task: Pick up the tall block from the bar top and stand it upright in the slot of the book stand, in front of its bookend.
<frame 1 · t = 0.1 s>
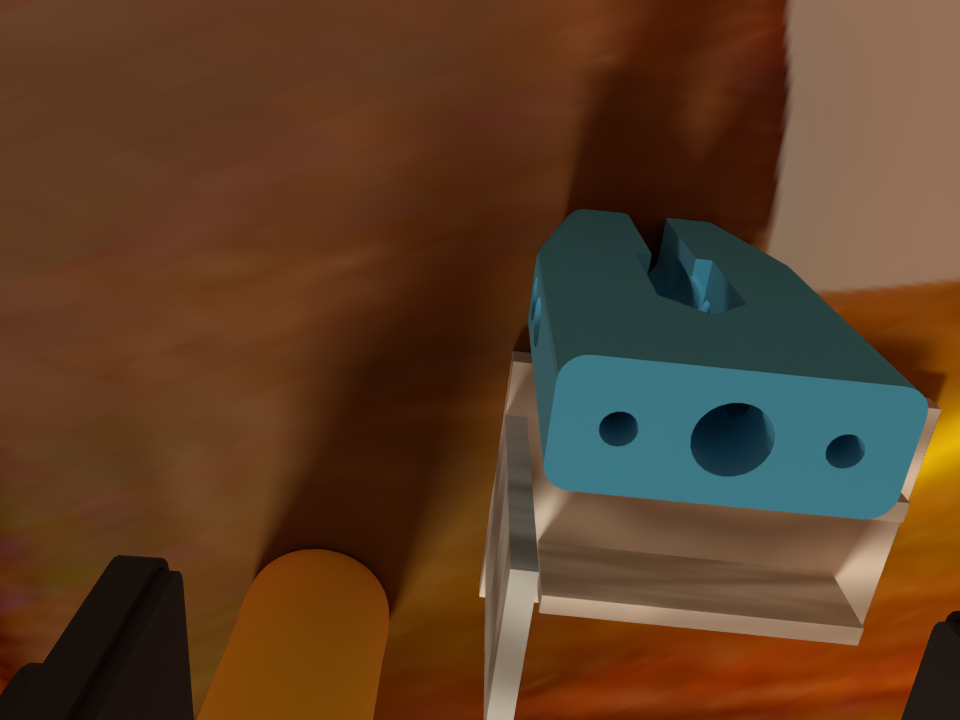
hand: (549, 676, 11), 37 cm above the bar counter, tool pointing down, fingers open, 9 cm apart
book stand: (692, 494, 52), on the bar counter
beer bottle: (321, 600, 56), on the bar counter
block: (637, 259, 47), on the bar counter
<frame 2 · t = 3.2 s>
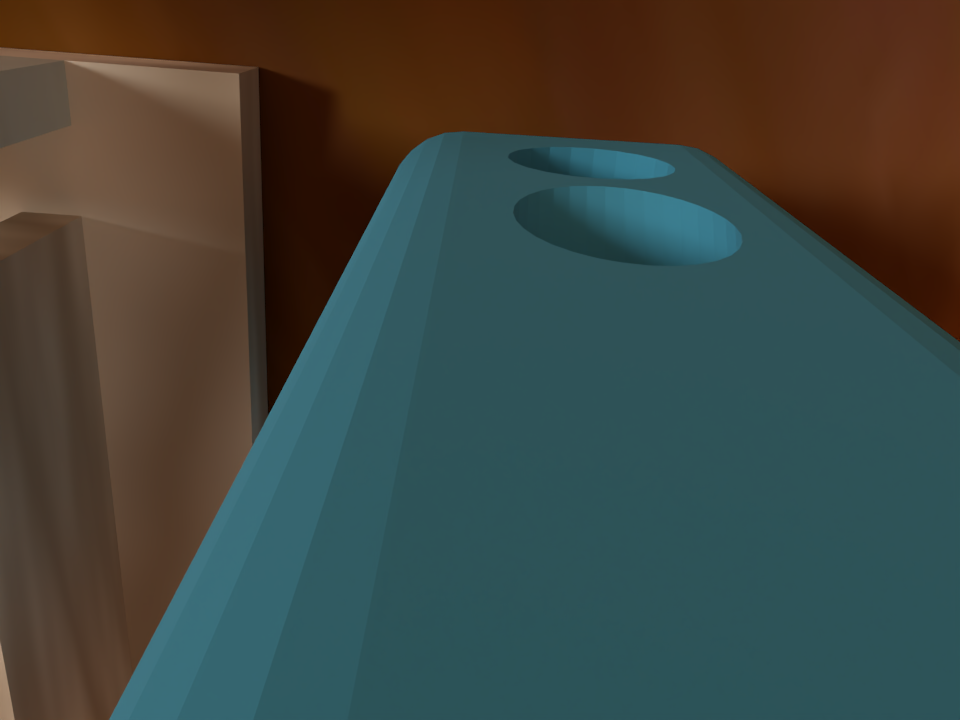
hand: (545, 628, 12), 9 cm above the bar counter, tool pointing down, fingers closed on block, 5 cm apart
block: (522, 351, 21), on the bar counter, touching gripper
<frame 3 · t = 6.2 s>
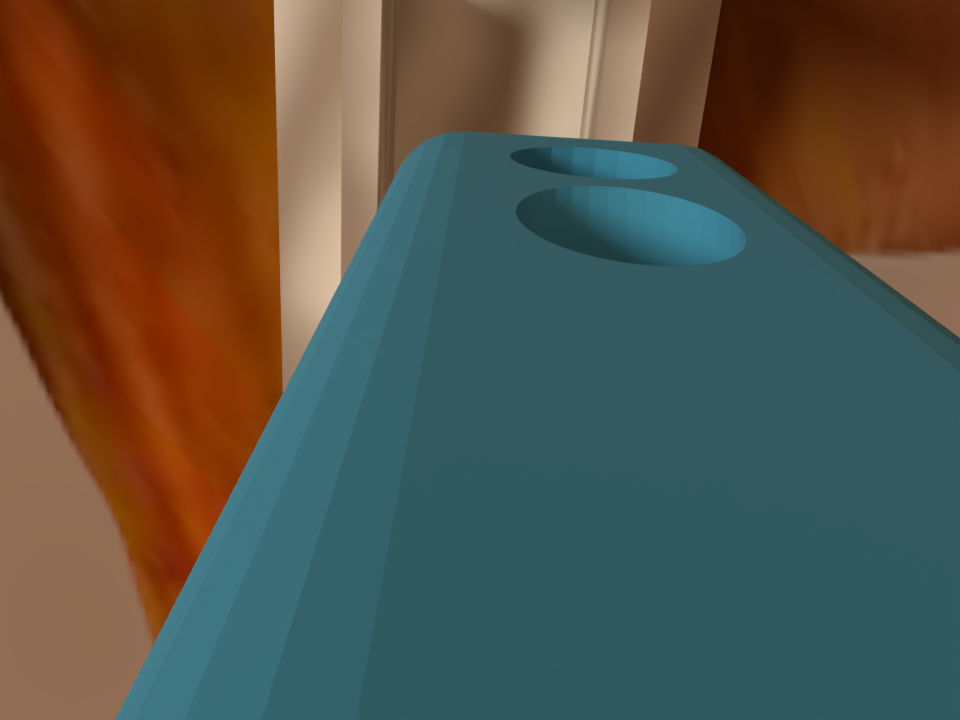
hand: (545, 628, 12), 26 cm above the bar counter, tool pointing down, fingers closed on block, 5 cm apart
book stand: (482, 209, 36), on the bar counter
block: (522, 352, 20), point 16 cm above the bar counter, touching gripper
when the fingers open (12 cm above the bar counter, at t = 9.3 s): block stays where it is, resting on book stand.
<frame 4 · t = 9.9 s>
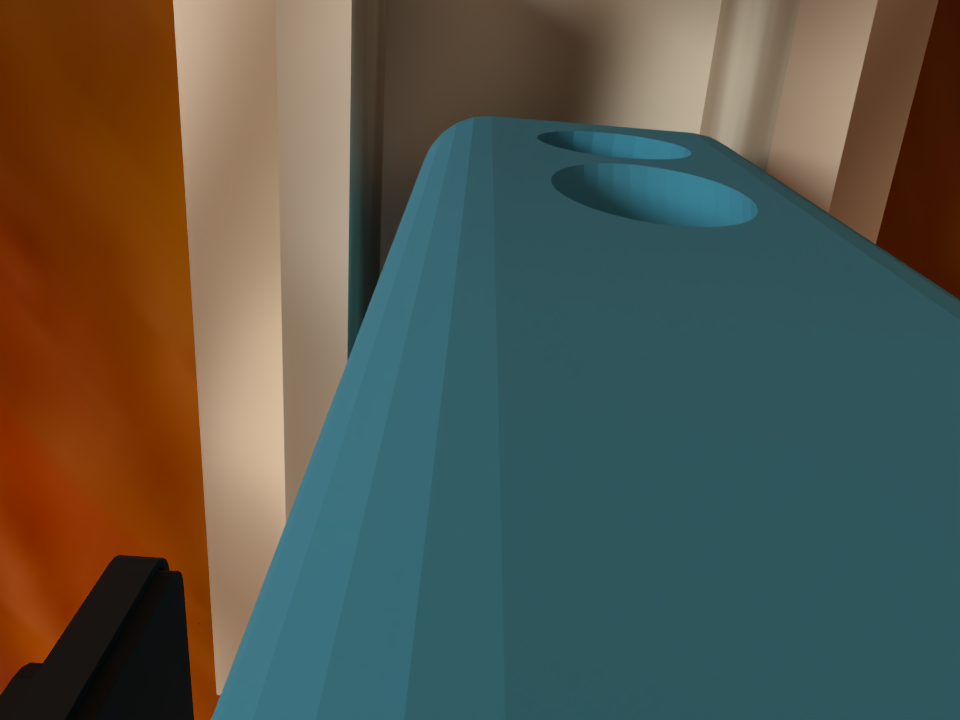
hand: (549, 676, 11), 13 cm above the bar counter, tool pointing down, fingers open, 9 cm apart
book stand: (519, 318, 23), on the bar counter
block: (530, 334, 21), point 1 cm above the bar counter, touching book stand
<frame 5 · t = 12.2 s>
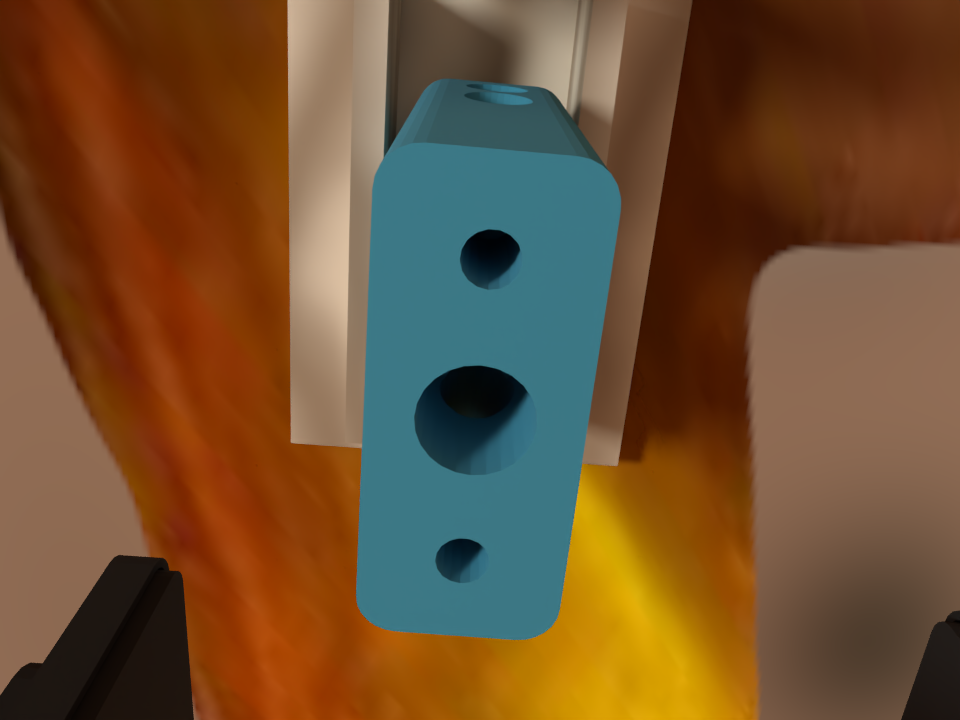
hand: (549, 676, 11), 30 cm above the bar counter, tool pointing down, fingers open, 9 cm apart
book stand: (474, 205, 39), on the bar counter
block: (479, 210, 38), point 1 cm above the bar counter, touching book stand
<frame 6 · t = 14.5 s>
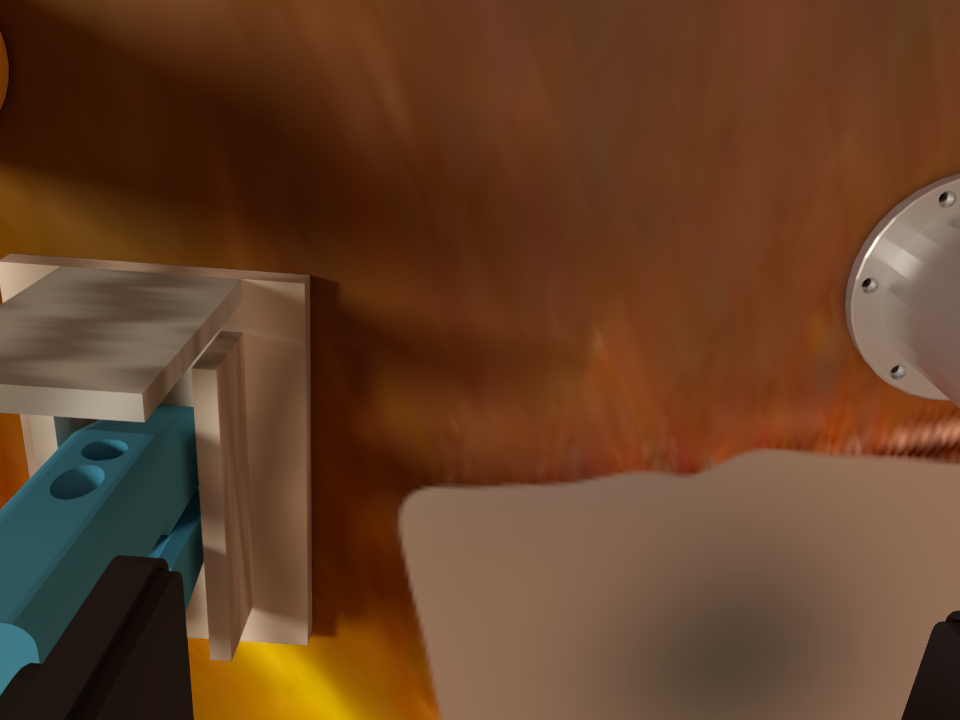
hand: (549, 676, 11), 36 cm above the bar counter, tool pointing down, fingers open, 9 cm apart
book stand: (175, 459, 51), on the bar counter
block: (172, 469, 50), point 1 cm above the bar counter, touching book stand
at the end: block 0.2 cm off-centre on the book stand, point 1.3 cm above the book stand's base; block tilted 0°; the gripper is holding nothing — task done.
